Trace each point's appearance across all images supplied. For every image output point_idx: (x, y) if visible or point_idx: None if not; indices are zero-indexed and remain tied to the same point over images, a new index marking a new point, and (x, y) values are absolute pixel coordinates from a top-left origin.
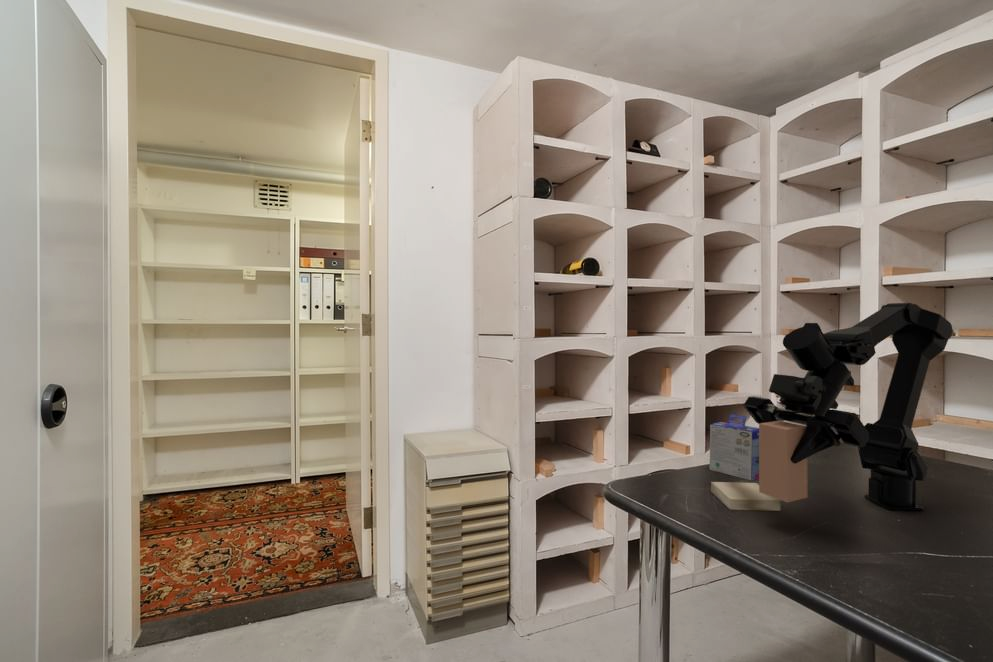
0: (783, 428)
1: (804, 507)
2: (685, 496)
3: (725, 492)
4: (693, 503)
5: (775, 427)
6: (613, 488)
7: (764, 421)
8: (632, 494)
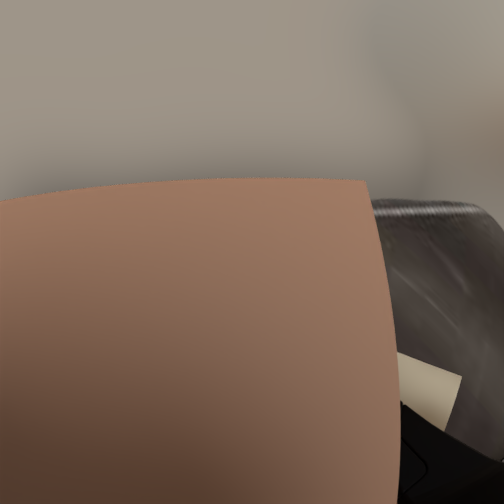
0: (10, 217)
1: None
2: (455, 324)
3: (401, 361)
4: (423, 314)
5: (91, 191)
6: (490, 215)
7: (497, 473)
8: (470, 227)
